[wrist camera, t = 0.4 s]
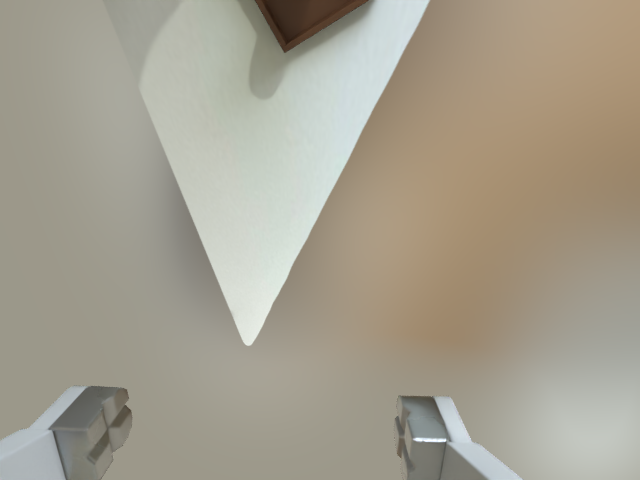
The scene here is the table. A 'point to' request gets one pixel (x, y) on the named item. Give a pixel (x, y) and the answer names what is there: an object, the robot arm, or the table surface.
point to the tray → (302, 17)
